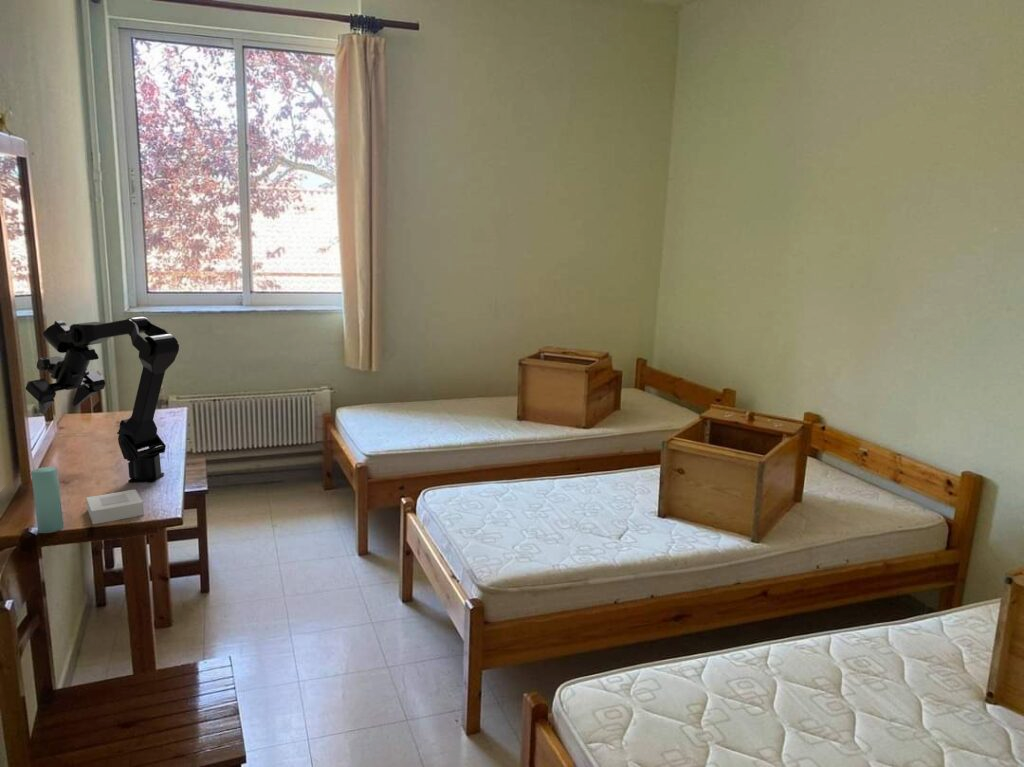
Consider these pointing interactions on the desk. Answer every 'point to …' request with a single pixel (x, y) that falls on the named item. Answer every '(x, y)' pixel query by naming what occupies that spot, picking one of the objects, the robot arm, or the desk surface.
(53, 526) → the pillar
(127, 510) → the plinth
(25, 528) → the desk surface
